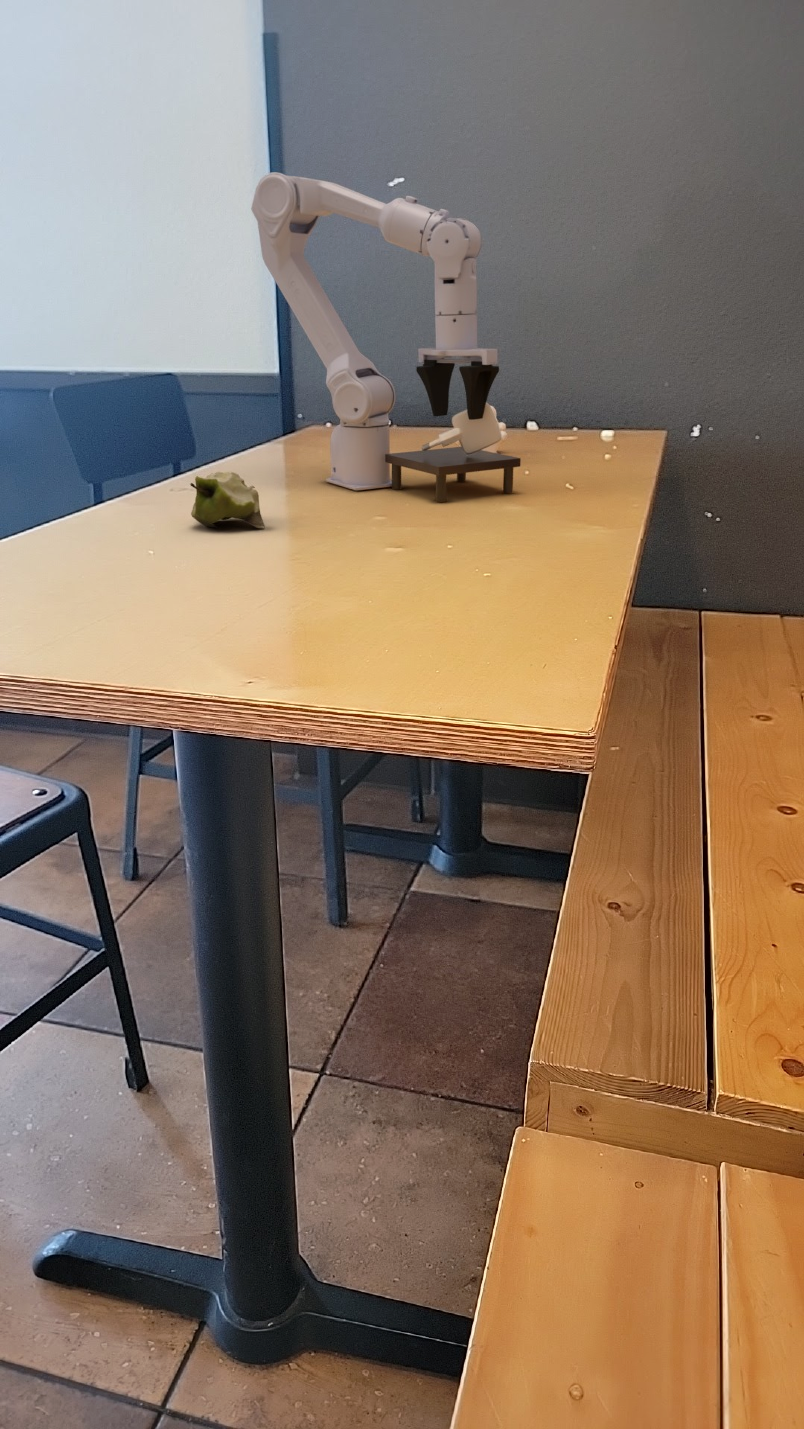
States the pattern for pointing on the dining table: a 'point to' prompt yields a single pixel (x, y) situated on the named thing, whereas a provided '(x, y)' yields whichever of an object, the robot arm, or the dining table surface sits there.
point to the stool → (451, 466)
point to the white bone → (502, 428)
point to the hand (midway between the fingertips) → (457, 417)
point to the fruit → (225, 500)
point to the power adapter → (470, 432)
